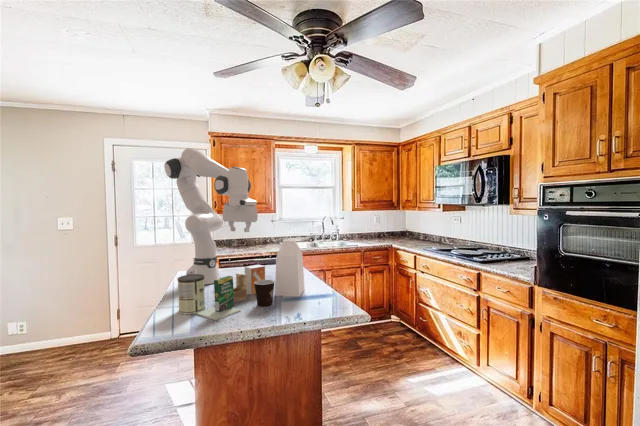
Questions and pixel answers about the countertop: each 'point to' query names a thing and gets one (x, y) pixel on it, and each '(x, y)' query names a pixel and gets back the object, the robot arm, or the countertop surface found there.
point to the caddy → (240, 287)
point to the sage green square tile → (217, 313)
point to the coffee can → (191, 294)
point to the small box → (254, 276)
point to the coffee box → (223, 293)
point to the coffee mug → (264, 292)
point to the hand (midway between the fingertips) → (239, 231)
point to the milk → (289, 270)
